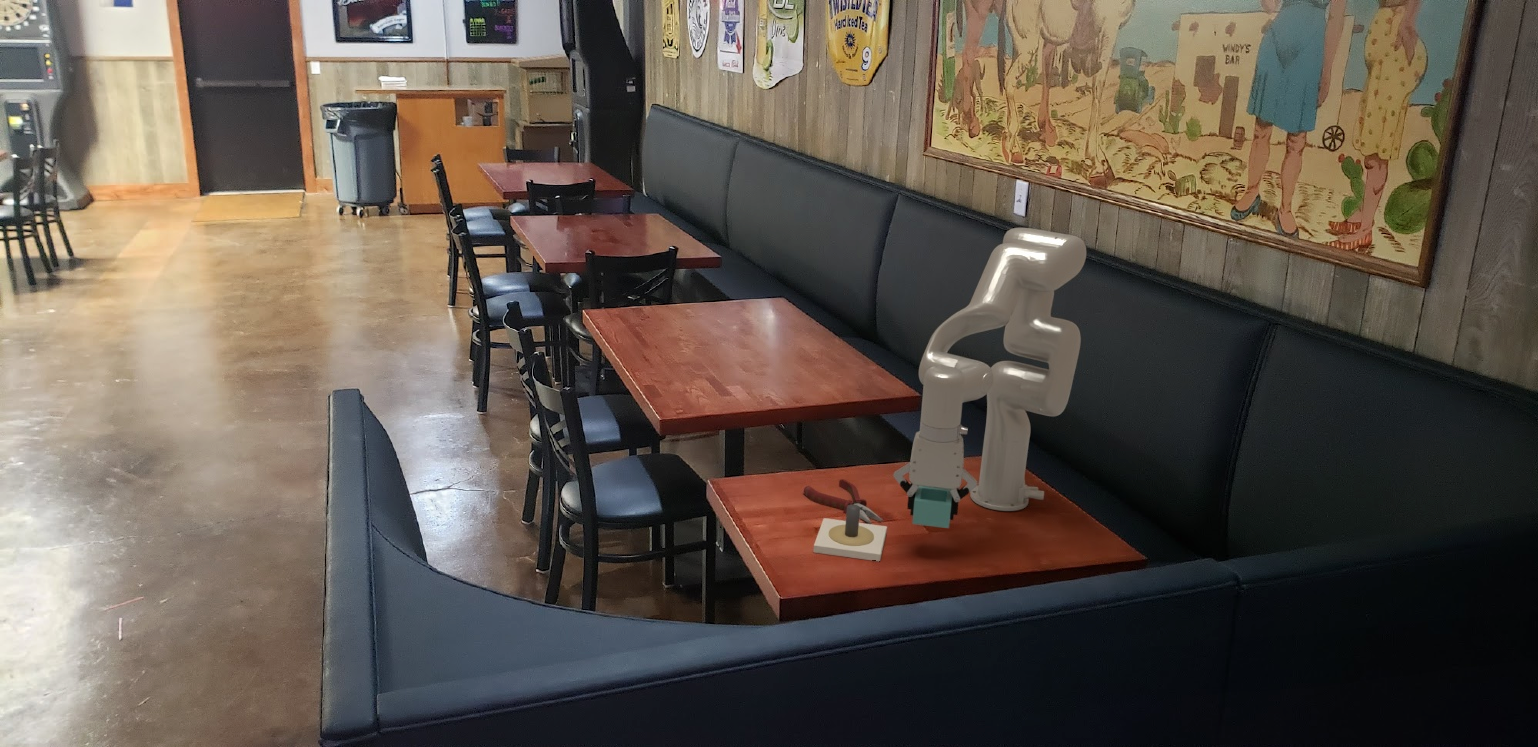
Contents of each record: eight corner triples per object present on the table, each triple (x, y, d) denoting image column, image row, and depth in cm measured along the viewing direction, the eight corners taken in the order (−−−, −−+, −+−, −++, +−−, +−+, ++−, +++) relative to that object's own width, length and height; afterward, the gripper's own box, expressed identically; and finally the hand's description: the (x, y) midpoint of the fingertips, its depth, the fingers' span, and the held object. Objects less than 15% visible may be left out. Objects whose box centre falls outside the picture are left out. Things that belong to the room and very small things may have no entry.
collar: (950, 512, 224) (952, 489, 223) (948, 528, 218) (951, 504, 216) (915, 508, 226) (917, 485, 224) (912, 523, 219) (914, 500, 218)
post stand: (886, 533, 231) (889, 498, 229) (879, 561, 219) (883, 525, 216) (823, 524, 233) (825, 490, 231) (813, 552, 221) (815, 516, 219)
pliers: (854, 532, 232) (855, 520, 231) (800, 495, 248) (801, 484, 247) (898, 522, 237) (899, 511, 237) (843, 487, 254) (844, 476, 253)
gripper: (986, 428, 218) (977, 511, 224) (895, 418, 221) (889, 501, 227) (985, 442, 211) (976, 528, 217) (892, 433, 214) (885, 518, 220)
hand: (932, 514), depth 222 cm, fingers closed on collar, 7 cm apart
